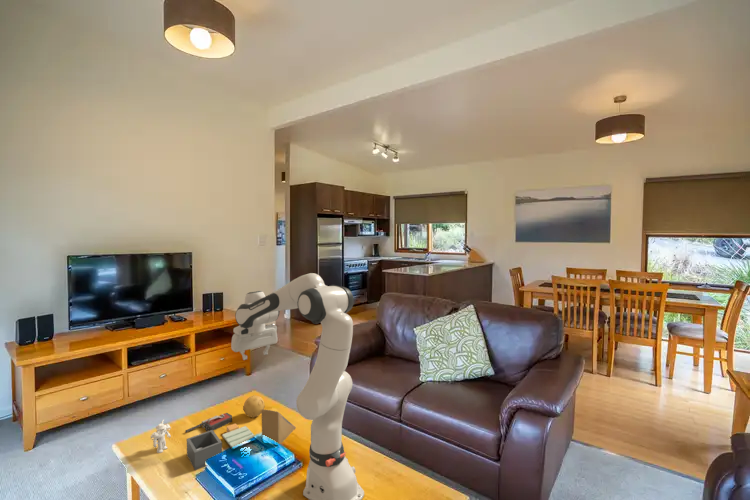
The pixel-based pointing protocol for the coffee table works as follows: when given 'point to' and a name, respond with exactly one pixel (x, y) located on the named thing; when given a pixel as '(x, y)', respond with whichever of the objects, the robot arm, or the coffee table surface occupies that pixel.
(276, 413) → the sandwich container
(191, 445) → the parts tub
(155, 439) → the flower shoulder figurine
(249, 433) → the lid
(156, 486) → the coffee table surface
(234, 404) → the coffee table surface
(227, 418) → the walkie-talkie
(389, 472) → the coffee table surface
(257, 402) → the stress ball
